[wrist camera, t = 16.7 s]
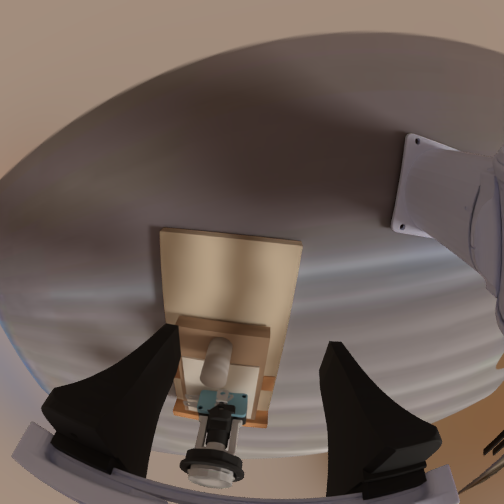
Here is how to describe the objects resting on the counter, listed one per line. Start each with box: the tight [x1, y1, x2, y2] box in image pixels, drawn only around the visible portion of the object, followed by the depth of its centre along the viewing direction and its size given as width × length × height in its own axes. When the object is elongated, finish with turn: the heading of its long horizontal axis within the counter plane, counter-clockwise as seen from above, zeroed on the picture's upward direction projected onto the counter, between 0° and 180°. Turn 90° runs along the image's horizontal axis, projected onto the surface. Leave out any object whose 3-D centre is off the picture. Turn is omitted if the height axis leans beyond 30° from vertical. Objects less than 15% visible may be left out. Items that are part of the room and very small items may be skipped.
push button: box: [180, 389, 248, 489], centre depth 20 cm, size 7×5×10 cm
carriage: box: [175, 315, 270, 420], centre depth 23 cm, size 8×13×6 cm, turn 175°
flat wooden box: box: [160, 227, 303, 428], centre depth 24 cm, size 11×22×3 cm, turn 175°
